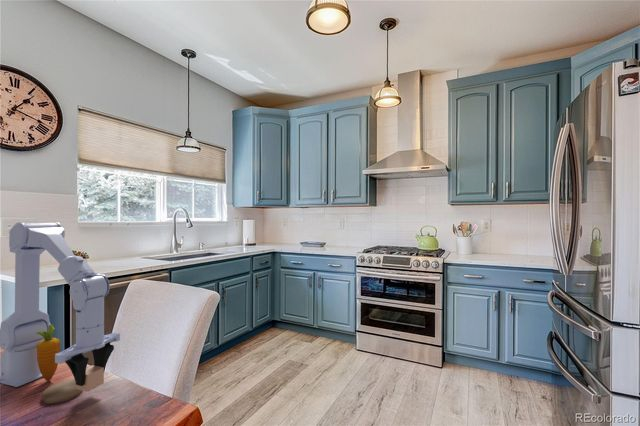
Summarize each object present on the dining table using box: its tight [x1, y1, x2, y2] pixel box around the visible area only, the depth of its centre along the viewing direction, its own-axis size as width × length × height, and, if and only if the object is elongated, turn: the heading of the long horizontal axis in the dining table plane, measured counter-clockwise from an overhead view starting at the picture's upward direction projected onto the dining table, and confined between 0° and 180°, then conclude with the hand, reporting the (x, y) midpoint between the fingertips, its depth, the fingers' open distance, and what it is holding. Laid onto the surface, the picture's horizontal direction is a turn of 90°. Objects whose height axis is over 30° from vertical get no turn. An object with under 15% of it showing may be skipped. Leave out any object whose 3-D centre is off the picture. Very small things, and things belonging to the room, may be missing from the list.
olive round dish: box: [42, 378, 83, 404], centre depth 80 cm, size 8×8×2 cm
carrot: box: [37, 324, 61, 382], centre depth 87 cm, size 5×5×15 cm
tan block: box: [76, 364, 105, 393], centre depth 78 cm, size 4×4×4 cm
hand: (90, 380), depth 78 cm, fingers closed on tan block, 4 cm apart
